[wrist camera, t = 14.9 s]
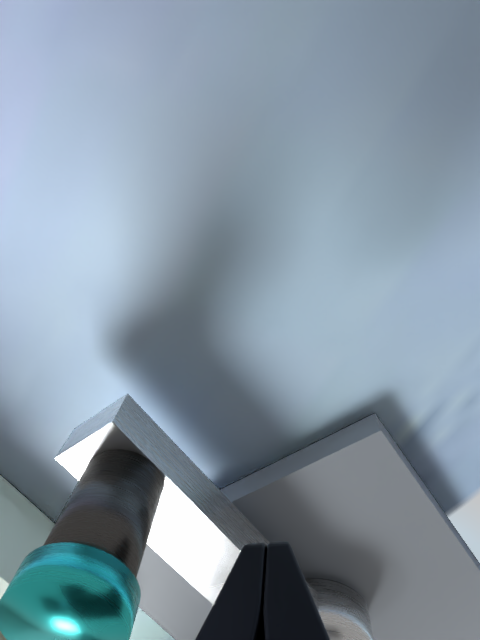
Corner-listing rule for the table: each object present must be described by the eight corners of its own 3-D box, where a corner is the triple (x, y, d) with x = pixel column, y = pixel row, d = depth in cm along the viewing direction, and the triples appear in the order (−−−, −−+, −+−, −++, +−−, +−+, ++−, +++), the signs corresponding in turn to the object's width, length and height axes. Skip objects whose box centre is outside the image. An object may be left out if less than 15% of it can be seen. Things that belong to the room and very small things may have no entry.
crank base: (522, 624, 16) (535, 650, 15) (271, 701, 19) (270, 727, 19) (374, 412, 13) (381, 432, 12) (102, 547, 16) (93, 570, 15)
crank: (388, 625, 15) (440, 857, 10) (300, 657, 16) (310, 880, 12) (155, 368, 12) (71, 539, 7) (62, 429, 13) (-66, 615, 8)
